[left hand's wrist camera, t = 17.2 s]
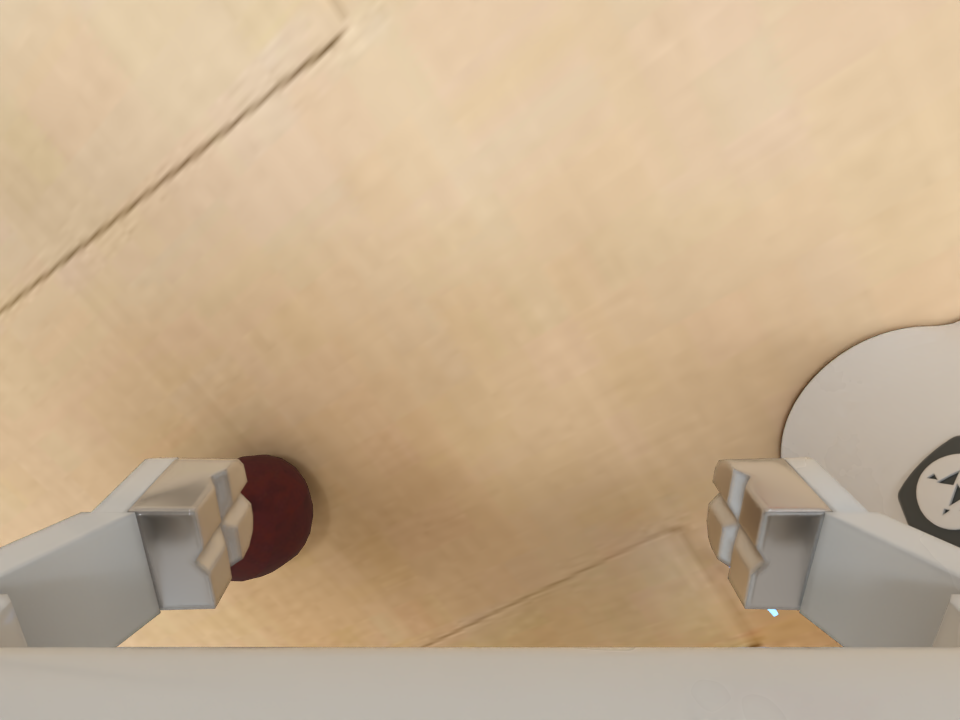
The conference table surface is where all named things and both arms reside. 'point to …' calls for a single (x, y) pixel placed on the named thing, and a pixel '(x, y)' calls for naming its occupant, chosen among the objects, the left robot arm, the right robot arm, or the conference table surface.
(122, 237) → the conference table surface
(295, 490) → the dark maroon ball
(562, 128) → the conference table surface
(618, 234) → the conference table surface
